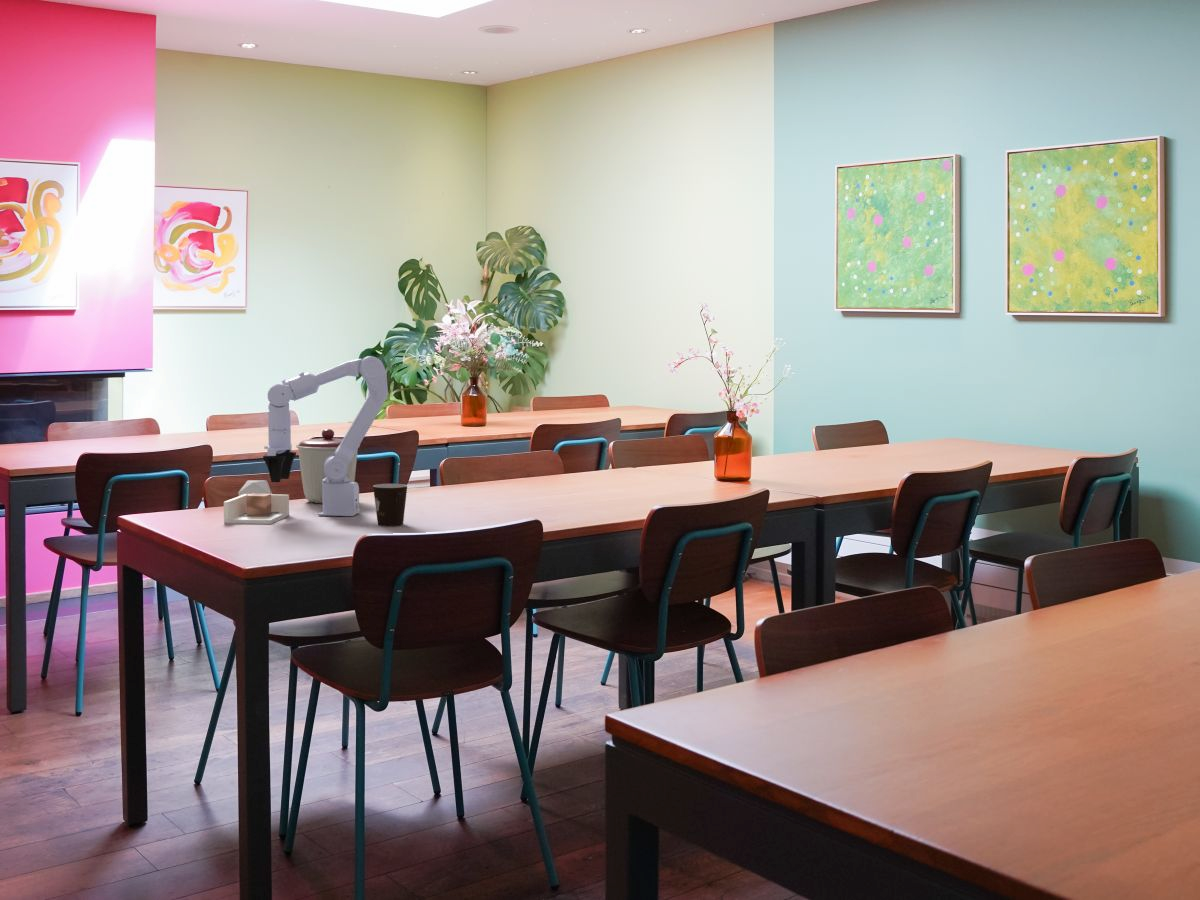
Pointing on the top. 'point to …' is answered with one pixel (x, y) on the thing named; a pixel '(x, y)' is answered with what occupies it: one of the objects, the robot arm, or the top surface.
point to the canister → (319, 463)
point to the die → (255, 487)
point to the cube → (258, 504)
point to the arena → (238, 514)
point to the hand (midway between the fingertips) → (280, 480)
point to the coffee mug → (390, 503)
